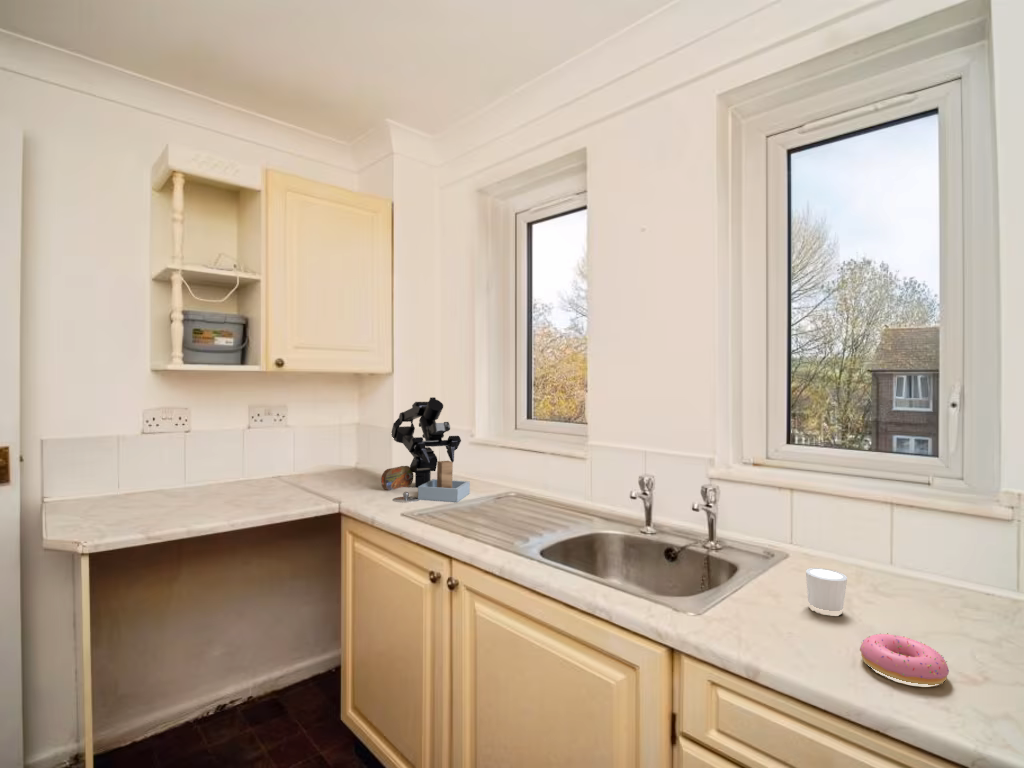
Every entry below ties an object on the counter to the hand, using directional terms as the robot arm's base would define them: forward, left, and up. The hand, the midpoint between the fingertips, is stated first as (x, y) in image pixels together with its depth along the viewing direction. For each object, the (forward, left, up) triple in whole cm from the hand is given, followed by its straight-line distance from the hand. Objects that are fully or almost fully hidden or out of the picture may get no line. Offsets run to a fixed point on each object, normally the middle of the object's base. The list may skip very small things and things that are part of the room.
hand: (441, 462), depth 195 cm
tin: (-7, -20, -12) cm, 24 cm away
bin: (+3, +2, -12) cm, 13 cm away
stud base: (+11, -9, -12) cm, 18 cm away
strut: (+3, +2, -11) cm, 12 cm away
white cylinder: (+71, +102, -12) cm, 125 cm away
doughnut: (+92, +106, -12) cm, 141 cm away
